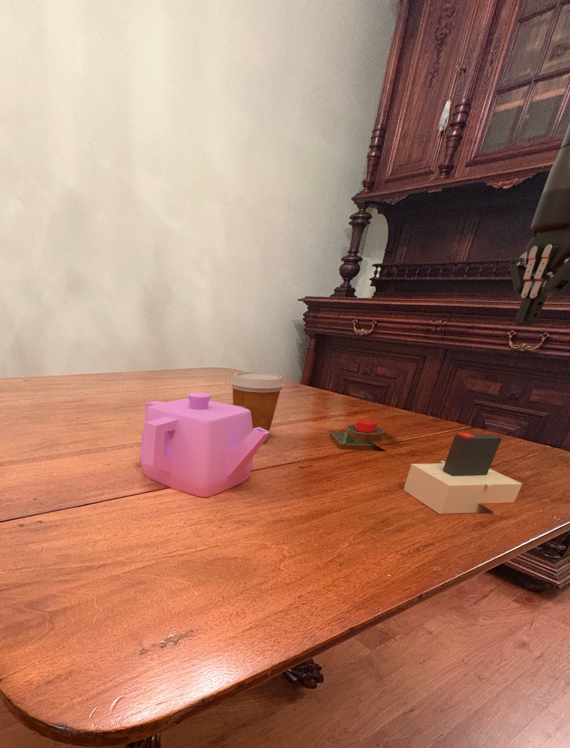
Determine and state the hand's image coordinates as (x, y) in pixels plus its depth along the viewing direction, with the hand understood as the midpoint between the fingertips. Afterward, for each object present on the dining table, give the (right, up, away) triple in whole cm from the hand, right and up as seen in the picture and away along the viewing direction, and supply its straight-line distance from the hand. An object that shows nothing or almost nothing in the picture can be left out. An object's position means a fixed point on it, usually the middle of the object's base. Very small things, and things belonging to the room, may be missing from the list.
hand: (524, 324), depth 69 cm
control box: (-18, -29, -10) cm, 36 cm away
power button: (-21, -14, +11) cm, 27 cm away
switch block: (-21, -17, +13) cm, 29 cm away
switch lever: (-18, -26, -12) cm, 33 cm away
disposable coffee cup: (-42, -16, +13) cm, 47 cm away
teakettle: (-53, -25, -3) cm, 59 cm away
